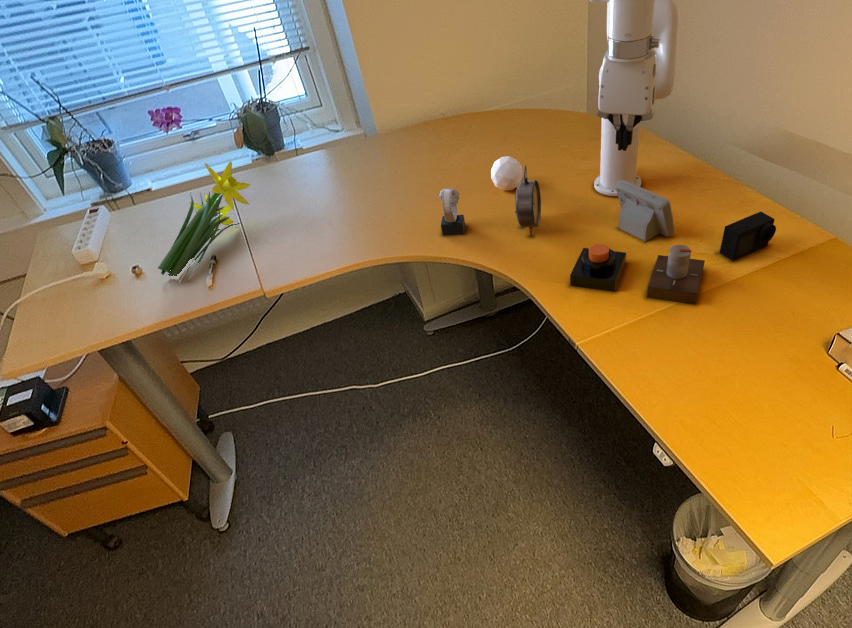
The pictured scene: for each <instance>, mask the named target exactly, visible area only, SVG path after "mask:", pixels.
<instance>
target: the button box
mask: <svg viewBox="0 0 852 628" xmlns="http://www.w3.org/2000/svg"><path fill="white" fill-rule="evenodd" d="M589 248H590V247H583V248H582V249H581V252H580V253H579V256H578V258H577V260H576V262H575V264H574V266H573V268H572V271H570V272H571V273H570V274H569V280H570V281H569V282H570V287H575V288H583V289H590V290H598V291H605V292H611V293H615V292H616V289H617V287H618V284H619V282H620V279H621V277H622V274H623V272H624V269H625V267H626V264H627V252H624V251H615V250H613V249H612V248H609V259H608V260H607V261H605V262H599V263H598V262H592V261H590V260H589Z"/></svg>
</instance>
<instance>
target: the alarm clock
mask: <svg viewBox="0 0 852 628" xmlns="http://www.w3.org/2000/svg"><path fill="white" fill-rule="evenodd" d="M527 171H528V169H527V165H524V167H523V180H521V182H520V183H519V184H518V186H517V187H516V188H515V189H516V190H515V197H514V198H515V200H514V202H515V205H514V207H515V211H514V213H515V215H516V219H517V222H518V224H519V226H520V228H521V227H522V228H528V230H529V237H530V238H531V237H533V234H532V233H533V228H538V227H539V226H540V222H541V215H542V198H541V188H540V184H539V182H538V180H536V179H535V180H528V179H529V178H528V176H527V174H528V172H527Z"/></svg>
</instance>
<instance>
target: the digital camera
mask: <svg viewBox="0 0 852 628" xmlns="http://www.w3.org/2000/svg"><path fill="white" fill-rule="evenodd" d="M776 231H777V226H776V225H775V218H774V217H772V216H771V215H769V214H767V213H765V212H763V211H758V212H756V213H753V214H751V215H749V216H746V217H744V218H741V219H739V220H736V221H735V222H731V223H730V224H727V225H725V226H724V229H723V233H722V238H721V243H720V248H719V254H720V255H722V256H723V257H725V258H727V259H728V260H730V261H731V262H734V261H737V260H740V259H741V258H744V257H746V256H748V255H751V254H752V253H756V252H757V251H760V250H762V249H765V248H766V247H768V245H769V242H770V241H771V240H772V239H773V238H774V236H775V235H776Z"/></svg>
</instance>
